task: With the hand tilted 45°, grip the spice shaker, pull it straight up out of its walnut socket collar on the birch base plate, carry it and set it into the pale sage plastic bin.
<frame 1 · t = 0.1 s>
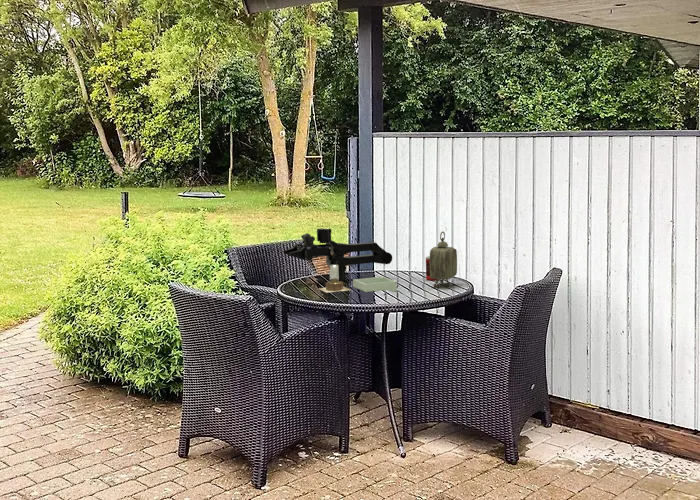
hand: (286, 253, 361), 17 cm above the table, tool horizontal, fingers open, 9 cm apart
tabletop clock: (444, 286, 356), on the table
socket block: (334, 291, 350), on the table
bin: (374, 290, 351), on the table
spice shaker: (334, 289, 350), point 1 cm above the table, touching socket block
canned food: (434, 279, 374), on the table
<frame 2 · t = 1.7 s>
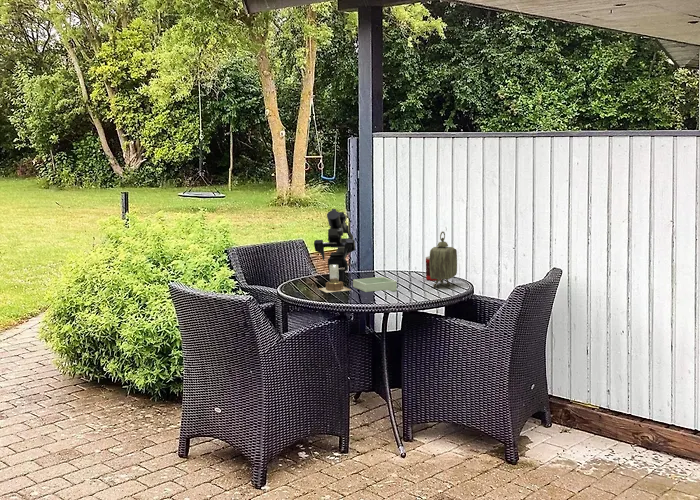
hand: (333, 259, 356), 14 cm above the table, tool tilted 45°, fingers open, 9 cm apart
nothing on the table moved.
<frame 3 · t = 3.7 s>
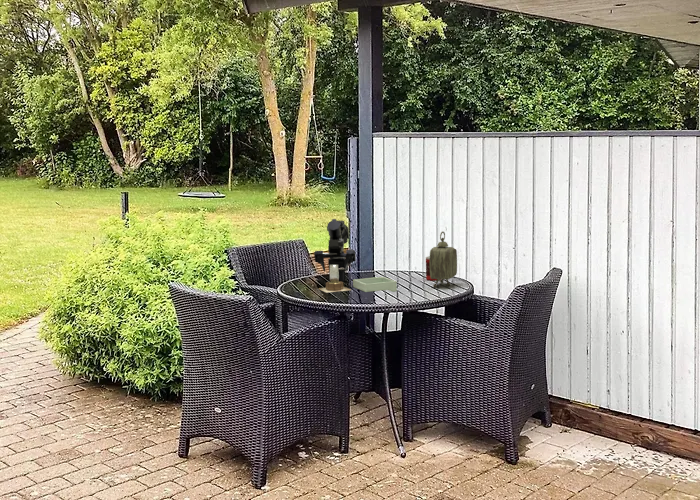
hand: (334, 270, 351), 9 cm above the table, tool tilted 45°, fingers open, 9 cm apart
nothing on the table moved.
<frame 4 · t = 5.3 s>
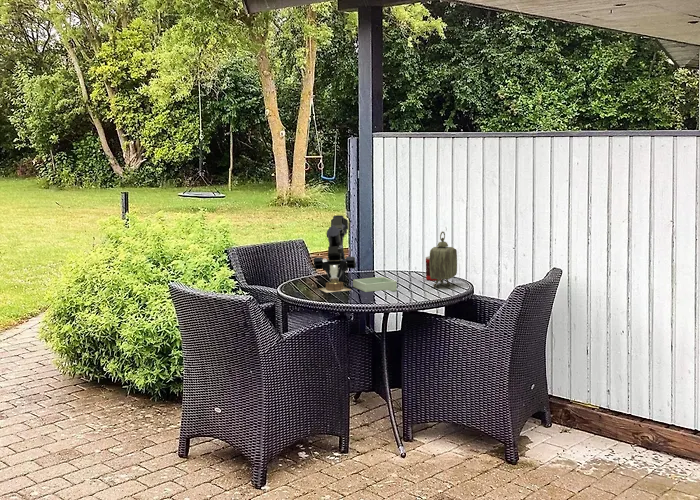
hand: (334, 277, 348), 7 cm above the table, tool tilted 45°, fingers closed on spice shaker, 4 cm apart
spice shaker: (334, 289, 350), point 1 cm above the table, touching gripper, socket block
everything else where it was.
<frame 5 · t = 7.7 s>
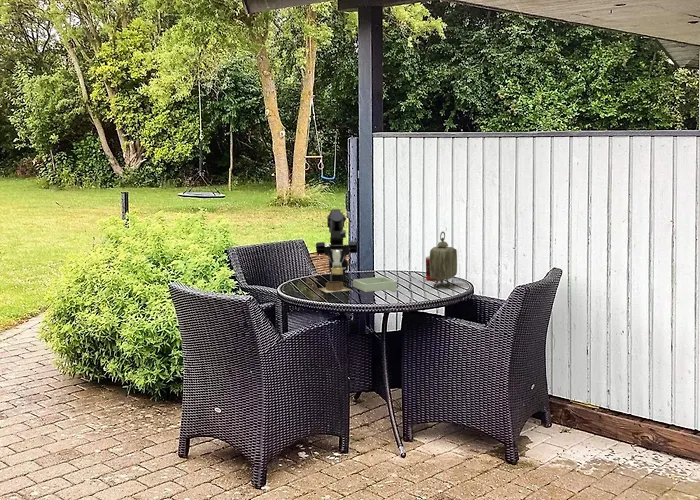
hand: (336, 262, 347), 14 cm above the table, tool tilted 45°, fingers closed on spice shaker, 4 cm apart
spice shaker: (337, 273, 349), point 8 cm above the table, touching gripper
everything else where it was.
when the fingers open (8 cm above the table, at t = 10.5 s): spice shaker drops 1 cm, resting on bin.
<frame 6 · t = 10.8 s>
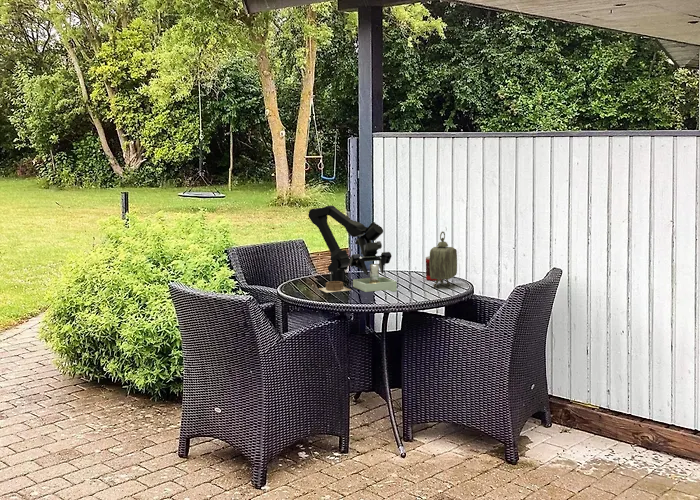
hand: (375, 273, 348), 8 cm above the table, tool tilted 45°, fingers open, 7 cm apart
spice shaker: (374, 288, 350), point 1 cm above the table, touching bin
everything else where it was.
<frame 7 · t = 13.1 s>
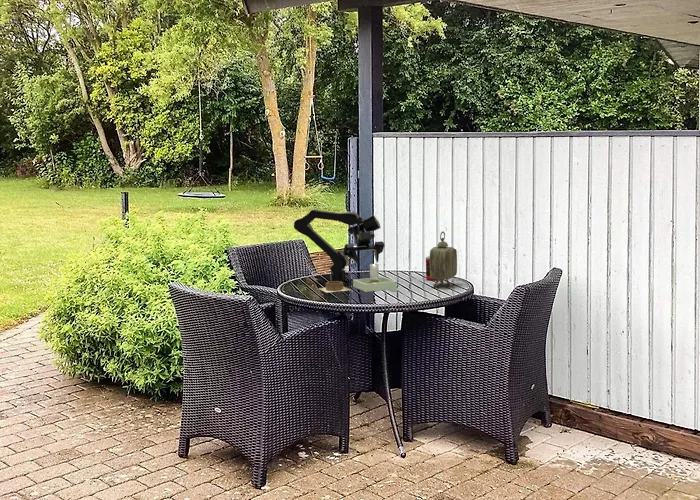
hand: (368, 262, 356), 12 cm above the table, tool tilted 45°, fingers open, 9 cm apart
nothing on the table moved.
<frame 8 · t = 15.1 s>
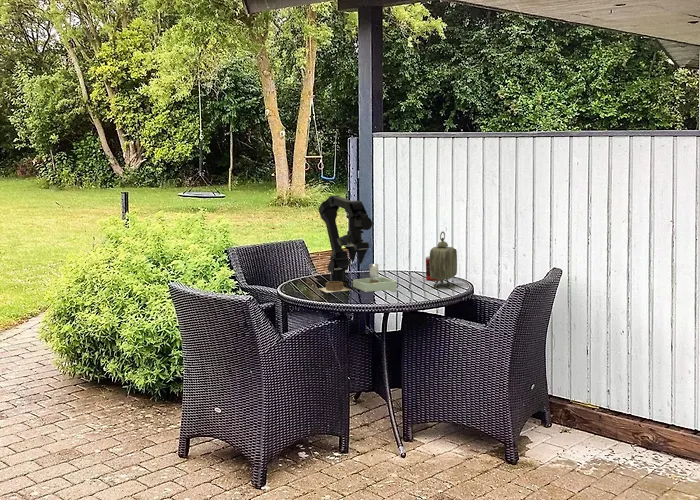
hand: (356, 262, 356), 12 cm above the table, tool pointing down, fingers open, 9 cm apart
nothing on the table moved.
at the end: spice shaker inside the target area on the bin (0.0 cm from its centre), point 0.8 cm above the bin's base; the gripper is holding nothing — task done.
